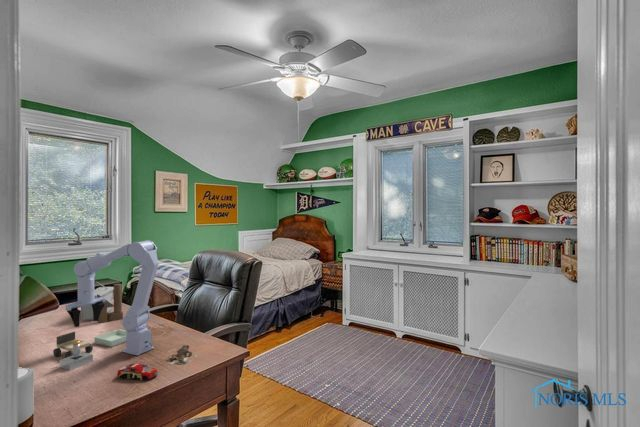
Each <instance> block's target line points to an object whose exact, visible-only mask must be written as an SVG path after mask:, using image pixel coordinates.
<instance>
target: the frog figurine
mask: <svg viewBox="0 0 640 427" xmlns="http://www.w3.org/2000/svg"><path fill="white" fill-rule="evenodd" d="M189 349H190V346H189V345H188V344H183V345H182V347H181V348H179V349H178V350H177V351H176V354H171V355H168V356H167V357H168V360H167V362H168V364H169V365H174V364H178V365H187V364H189V363H191V362H193V360H191V359H190V360H189V361H188V359H189V357H191V356H194V355H195V354H194V353H193V352H192V351H190V350H189ZM197 358H198V356H197V354H196V355H195V359H197ZM174 359H175V360H176V361H173V360H174ZM171 361H172V362H171Z"/></svg>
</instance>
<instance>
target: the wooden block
mask: <svg viewBox="0 0 640 427" xmlns="http://www.w3.org/2000/svg"><path fill="white" fill-rule="evenodd" d="M113 287H114V290H113V303H112V304H111V303H110V302H108V301H107V300H106V299H105V302H103V303H105V305H104V307H103V309H102V311H101V313H100V316H99V320H98V321H96V322H97V323H99V324H103V323H108V322H113V321H116V320H117V321H119V320H123V318H124V311H123V305H122V304H123V302H122V301H123V298H122V297H123V296H122V295H123V293H122V292H123V289H122V288H123V285H122V283H114V284H113ZM99 297H101V296H100V295H99V294H97V298H99ZM109 307H112V308H113V311H112V312H111V311H109V312H107V308H109Z"/></svg>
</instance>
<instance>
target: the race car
mask: <svg viewBox="0 0 640 427" xmlns="http://www.w3.org/2000/svg"><path fill="white" fill-rule="evenodd" d="M116 375H117V378H118V379H121V380H136V381H138V380H139V381H149V380H151V379H153V378H156V377H157V376H158V370H157V368H156V367H151V366H148V364H143V363H130V364H127V365H123V366H121V367H120V368H119V369H118V370H117V374H116Z"/></svg>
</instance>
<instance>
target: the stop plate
mask: <svg viewBox="0 0 640 427" xmlns="http://www.w3.org/2000/svg"><path fill="white" fill-rule="evenodd" d="M93 356H94V354H92V353H90V352H86V351H82V352H81V351H80V358H78V359H75V360H74V359H73V356H70V357H67V358H65V357H64V358H61V359H60V360H59V368H61V369H64V370H67V371H72V370H74V369H76V368H79V367H82V366H84V365H87V364H90V363H92V362H94V357H93Z"/></svg>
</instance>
